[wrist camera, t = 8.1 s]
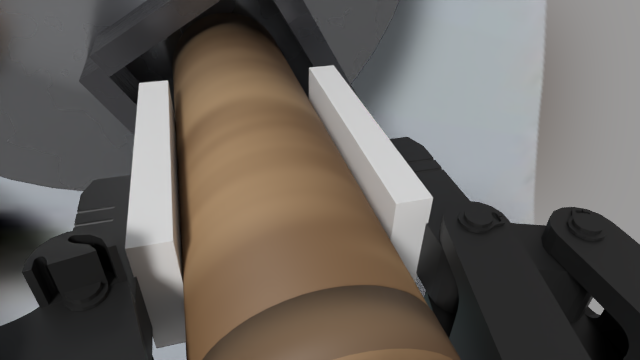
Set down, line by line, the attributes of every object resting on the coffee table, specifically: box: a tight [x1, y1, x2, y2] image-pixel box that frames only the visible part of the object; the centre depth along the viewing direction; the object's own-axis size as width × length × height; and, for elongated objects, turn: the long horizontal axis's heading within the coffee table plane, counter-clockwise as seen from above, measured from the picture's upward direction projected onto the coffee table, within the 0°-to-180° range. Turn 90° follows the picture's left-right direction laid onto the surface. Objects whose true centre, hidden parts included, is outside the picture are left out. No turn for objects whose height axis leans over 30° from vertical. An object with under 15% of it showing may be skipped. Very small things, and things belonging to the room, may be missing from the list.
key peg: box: [172, 13, 461, 360], centre depth 12 cm, size 4×4×14 cm
